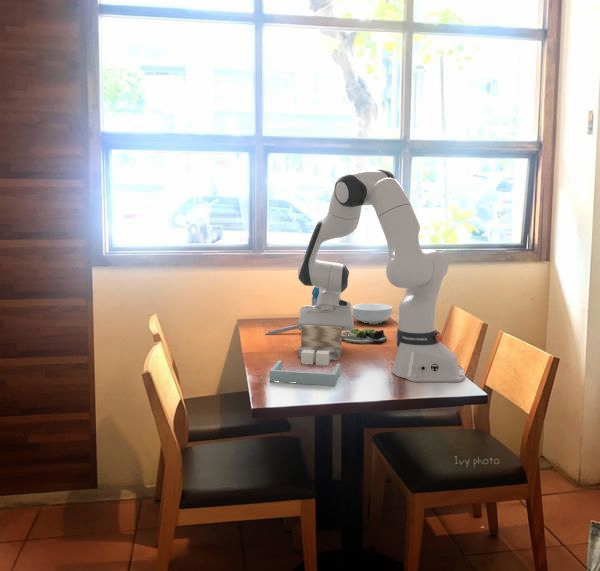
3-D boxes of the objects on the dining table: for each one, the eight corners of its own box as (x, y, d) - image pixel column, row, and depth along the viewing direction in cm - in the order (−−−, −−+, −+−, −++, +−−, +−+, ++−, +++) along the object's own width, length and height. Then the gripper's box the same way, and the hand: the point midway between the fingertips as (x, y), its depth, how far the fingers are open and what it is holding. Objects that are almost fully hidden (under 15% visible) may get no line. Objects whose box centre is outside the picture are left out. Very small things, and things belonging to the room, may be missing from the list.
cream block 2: (329, 362, 217) (329, 351, 217) (327, 365, 213) (327, 354, 213) (317, 361, 218) (317, 350, 217) (315, 365, 214) (315, 353, 213)
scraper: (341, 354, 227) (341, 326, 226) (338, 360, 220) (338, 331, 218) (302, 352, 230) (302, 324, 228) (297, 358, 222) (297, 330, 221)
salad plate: (339, 346, 239) (339, 334, 239) (332, 335, 257) (332, 323, 256) (390, 345, 241) (390, 333, 240) (380, 333, 259) (380, 322, 258)
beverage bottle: (314, 326, 271) (314, 279, 267) (309, 321, 279) (309, 276, 275) (333, 325, 273) (334, 278, 269) (328, 320, 281) (328, 275, 278)
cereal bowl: (387, 318, 287) (387, 302, 286) (395, 326, 270) (395, 310, 269) (349, 318, 286) (349, 302, 285) (355, 327, 269) (355, 310, 268)
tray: (340, 374, 203) (340, 363, 203) (334, 386, 192) (335, 374, 191) (278, 370, 207) (278, 360, 207) (269, 381, 196) (269, 370, 195)
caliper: (315, 332, 260) (315, 317, 259) (316, 333, 259) (316, 318, 258) (265, 334, 257) (264, 319, 256) (265, 335, 256) (265, 319, 255)
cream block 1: (314, 361, 218) (314, 350, 217) (312, 364, 214) (312, 353, 214) (303, 361, 219) (303, 349, 218) (300, 364, 215) (301, 352, 214)
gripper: (299, 300, 239) (294, 332, 231) (354, 302, 235) (351, 335, 227) (301, 310, 244) (296, 341, 236) (355, 312, 240) (352, 344, 232)
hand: (323, 338), depth 232 cm, fingers closed
